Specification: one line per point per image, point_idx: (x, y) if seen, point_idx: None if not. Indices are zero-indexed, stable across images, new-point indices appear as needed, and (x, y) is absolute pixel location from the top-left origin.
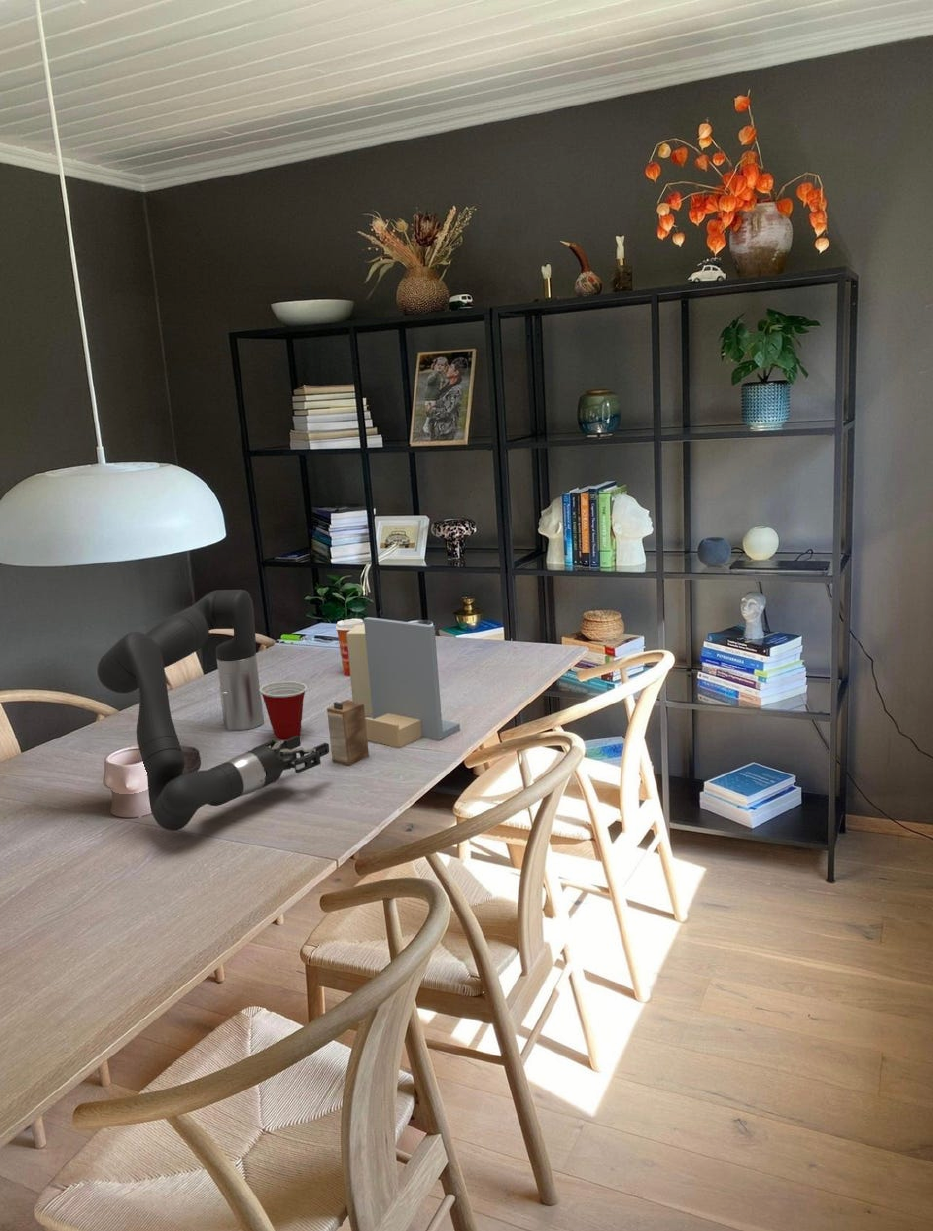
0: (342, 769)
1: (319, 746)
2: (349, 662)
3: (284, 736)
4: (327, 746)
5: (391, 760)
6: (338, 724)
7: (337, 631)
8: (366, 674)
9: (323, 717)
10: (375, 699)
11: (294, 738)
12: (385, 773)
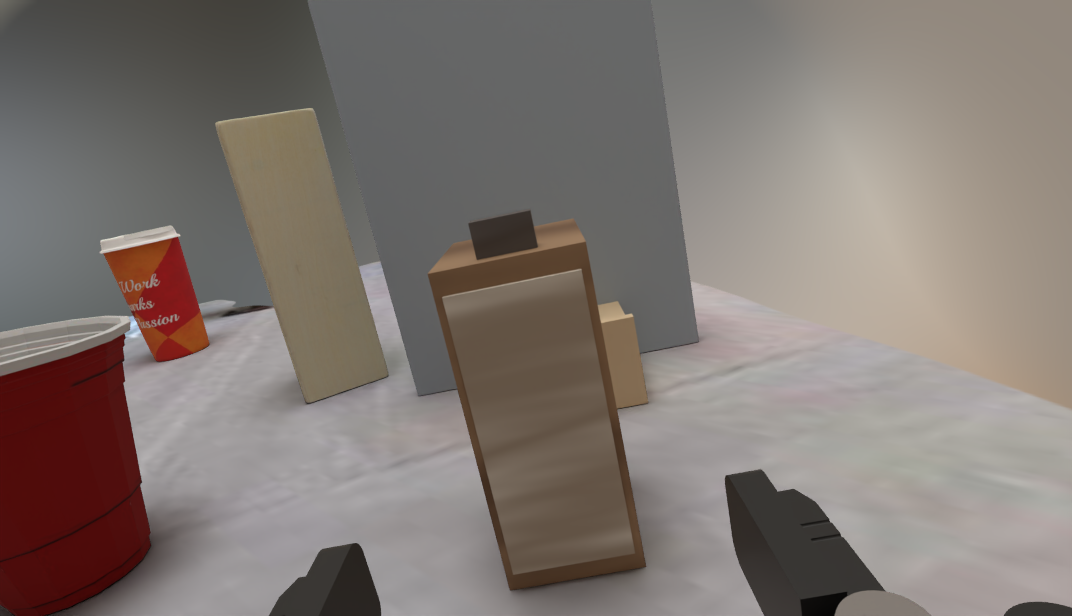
0: (659, 610)
1: (801, 533)
2: (251, 227)
3: (71, 587)
4: (804, 495)
5: (745, 445)
6: (549, 344)
7: (108, 261)
8: (322, 254)
9: (197, 447)
10: (411, 302)
11: (335, 587)
12: (902, 504)
